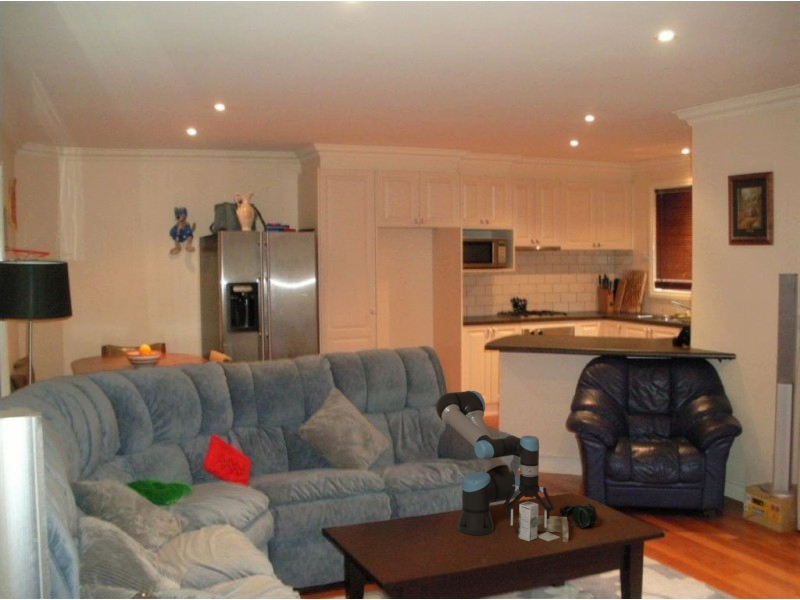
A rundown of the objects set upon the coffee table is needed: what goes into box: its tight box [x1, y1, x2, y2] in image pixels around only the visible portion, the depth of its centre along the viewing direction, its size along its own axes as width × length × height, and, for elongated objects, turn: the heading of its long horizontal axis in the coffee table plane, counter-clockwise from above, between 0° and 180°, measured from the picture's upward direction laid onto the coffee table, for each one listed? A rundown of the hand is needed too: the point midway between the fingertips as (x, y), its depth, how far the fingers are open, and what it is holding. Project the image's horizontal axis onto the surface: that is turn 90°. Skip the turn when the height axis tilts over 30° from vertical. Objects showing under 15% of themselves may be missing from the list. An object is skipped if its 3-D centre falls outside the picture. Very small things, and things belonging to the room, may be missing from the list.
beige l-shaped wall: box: [538, 514, 569, 543], centre depth 310 cm, size 18×13×6 cm
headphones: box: [559, 503, 598, 529], centre depth 325 cm, size 13×13×20 cm
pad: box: [537, 531, 561, 542], centre depth 308 cm, size 7×7×1 cm
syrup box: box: [517, 500, 540, 542], centre depth 306 cm, size 6×6×14 cm
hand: (528, 525), depth 306 cm, fingers open, 13 cm apart
